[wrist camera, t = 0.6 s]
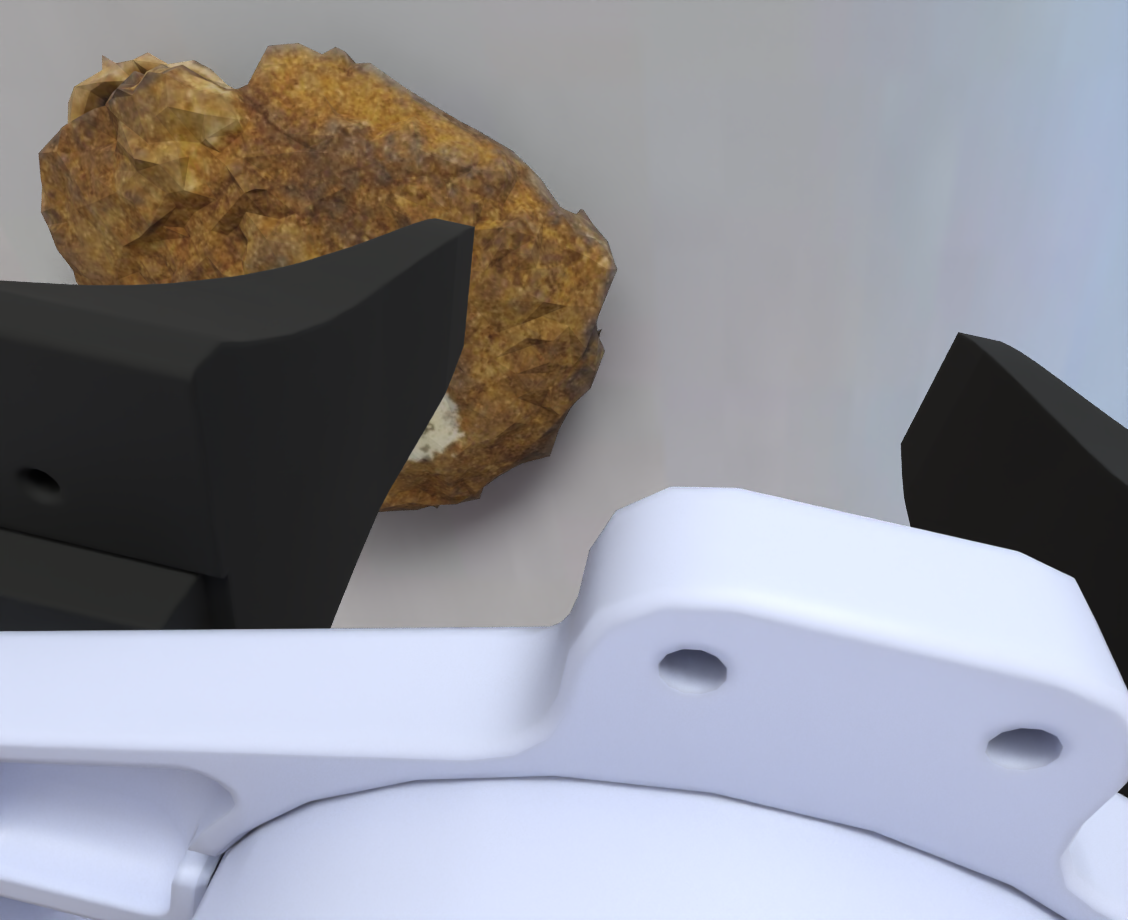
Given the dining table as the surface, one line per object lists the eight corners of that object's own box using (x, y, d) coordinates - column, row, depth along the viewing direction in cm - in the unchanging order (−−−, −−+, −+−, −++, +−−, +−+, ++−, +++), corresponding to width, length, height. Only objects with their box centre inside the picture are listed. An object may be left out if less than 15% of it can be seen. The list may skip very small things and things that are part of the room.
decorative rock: (72, 320, 26) (514, 505, 28) (-20, 383, 22) (491, 588, 25) (109, -79, 20) (674, 196, 22) (-9, -77, 16) (674, 250, 18)
